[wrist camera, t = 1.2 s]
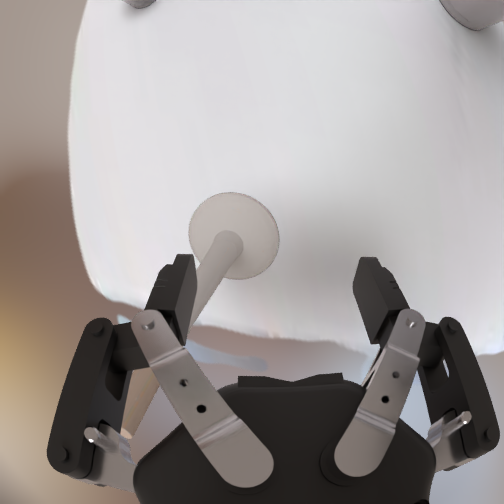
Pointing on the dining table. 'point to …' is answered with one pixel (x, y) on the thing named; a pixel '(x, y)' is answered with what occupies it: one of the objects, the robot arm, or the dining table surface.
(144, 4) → the salt shaker
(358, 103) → the dining table surface
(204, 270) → the candlestick
